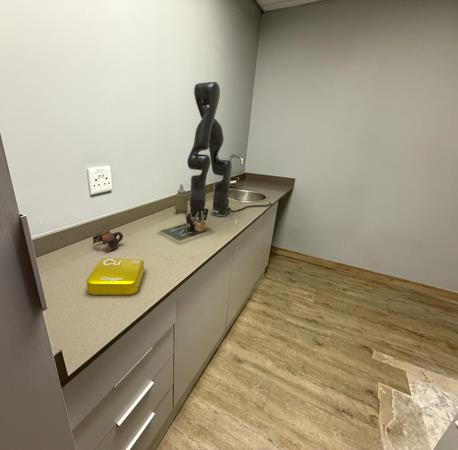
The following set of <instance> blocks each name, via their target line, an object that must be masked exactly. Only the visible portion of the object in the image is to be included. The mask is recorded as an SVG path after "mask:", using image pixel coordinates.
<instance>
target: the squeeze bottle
mask: <svg viewBox="0 0 458 450" xmlns="http://www.w3.org/2000/svg"><path fill="white" fill-rule="evenodd" d="M174 202H175V203H174V210H175V213H176V214H177V215H179V214H185V213H186V212H188V208H189V207H188V195H187V194H186V190H185V189H184V185H183V184H182V183H181V184H180V185H179V189H177V193H175V201H174Z"/></svg>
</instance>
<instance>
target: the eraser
mask: <svg viewBox="0 0 458 450" xmlns="http://www.w3.org/2000/svg"><path fill="white" fill-rule="evenodd" d="M192 222H193V221H192ZM186 223H187V222H186ZM207 223H208V222H207V221H206V220H204V221H203V220H200V219H199V218H197V220H196V221H195V224H194V225H195V227H194V232H196V233H198V234H200V233H202V234H204V233H203V232H205V233H207V232H206V227H207ZM187 229H189V230H190V224H188V223H187ZM200 235H201V234H200Z"/></svg>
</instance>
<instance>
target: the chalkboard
mask: <svg viewBox="0 0 458 450" xmlns="http://www.w3.org/2000/svg"><path fill="white" fill-rule="evenodd" d="M211 231H213V228H210V227H208V226H206V232H203V233H200V234H198V233H196V232H192V231H191V230H189V229H187V222H185V223H182V224H178V225H174V226H171V227H167V228H164V229H159V232H161V233H162V234H164V235H165V236H168V239H170V240H171V241H173V239H174V240H176V241H178V242H182V241H184V240H188V239H190V238H194V237H196V236H200V235H203V234H205V233H208V232H211ZM169 237H170V238H169ZM171 238H172V239H171Z"/></svg>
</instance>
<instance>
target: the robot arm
mask: <svg viewBox="0 0 458 450" xmlns="http://www.w3.org/2000/svg"><path fill="white" fill-rule="evenodd" d="M193 95H194V100H195V104H196V107H197V109H198V113H199V117H200V119H201V120H200V121H199V122H198V124H197V126H196V128H195V132H194V138H193V144H192V147H191V150H190V152H189V155H188V156H187V161H186V164H187V168H189V170H192V171H193V170H194V171H200V173H198V174H193V175H191V176H190V191H189V207H190V210H189V211H186V212H185V213H184V215H185V221H186V223H188V224H190V230H191V231H192V232H194V227H195V225H194V224H195V221H196V220H197V219H200V220H203V221H207V219H208V214H209V208H206V199H207V198H206V196H207V192H206V190H207V189H206V185H207V177H208V173H209V169H210V166H211V170H212V174H214V175H215V176H221V177H222V179H220V180H215V181H214V182H213V194H212V195H213V197H212V210H211V211H212V212H211V214H212V215H213V216H214V217H215V216H216V217H226V216H227V215H228V214H229V213H230V212H231V213H237V212H239V211H243V210H244V209H246V208H252V207H253V208H254V207H268V206H272V203H271V202H268V204H254V205H253V204H252V205H247V206H243V207H242V208H239V209H236V210H232V209H231V207H229V204H230V199H229V194H230V184H231V177H232V170H233V164H232V161H231V160H229V159H220V158H219V157H220V156H219V153H220V150H221V148H222V146H223V144H224V141H225V138H224V131H223V127H222V125H221V123H220V122H219V121H218V120H217V119H216V118H215V117H216V113H217V110H218V106H219V103H220V98H221V89H220V85H219V83H218V82H217V81H205V82H199V83H196V84H195V85H194V87H193ZM204 151H208V152H209V154H201V153H200V152H204ZM192 221H193V222H192Z"/></svg>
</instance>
